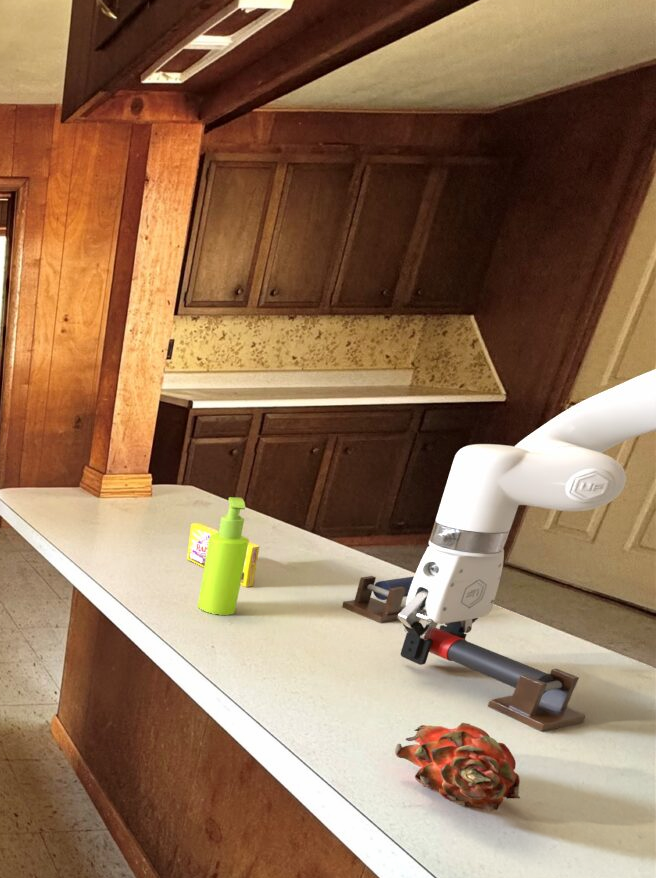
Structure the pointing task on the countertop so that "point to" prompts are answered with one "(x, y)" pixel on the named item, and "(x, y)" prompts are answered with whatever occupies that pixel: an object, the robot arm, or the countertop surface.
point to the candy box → (200, 546)
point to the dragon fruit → (463, 765)
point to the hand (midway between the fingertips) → (429, 656)
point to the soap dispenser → (224, 563)
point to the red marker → (485, 660)
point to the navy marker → (383, 587)
